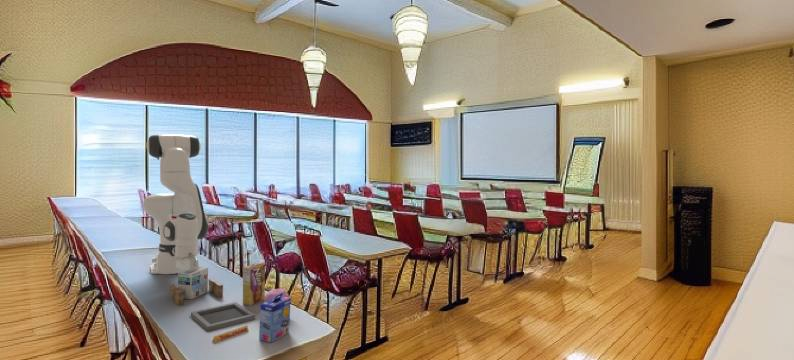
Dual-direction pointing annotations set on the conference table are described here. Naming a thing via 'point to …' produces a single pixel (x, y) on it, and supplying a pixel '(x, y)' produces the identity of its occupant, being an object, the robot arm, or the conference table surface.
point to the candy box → (253, 283)
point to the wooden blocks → (178, 294)
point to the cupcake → (275, 294)
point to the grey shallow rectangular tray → (222, 316)
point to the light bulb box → (193, 282)
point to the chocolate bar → (230, 334)
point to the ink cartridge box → (274, 318)
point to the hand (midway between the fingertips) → (186, 282)
